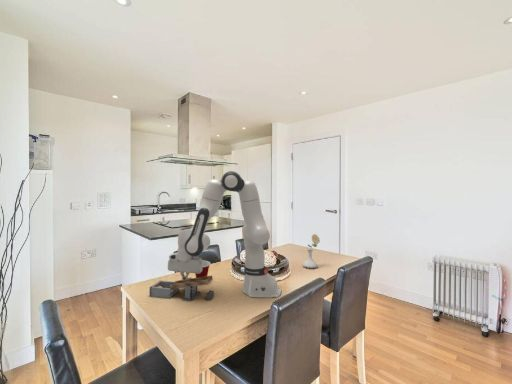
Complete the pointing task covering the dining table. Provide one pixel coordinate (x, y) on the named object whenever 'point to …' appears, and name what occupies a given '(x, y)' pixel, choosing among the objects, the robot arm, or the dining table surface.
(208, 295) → the rest block
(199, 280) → the lever
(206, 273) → the plastic cup
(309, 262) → the flower in vase
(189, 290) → the fulcrum
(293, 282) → the dining table surface
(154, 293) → the grey open box
